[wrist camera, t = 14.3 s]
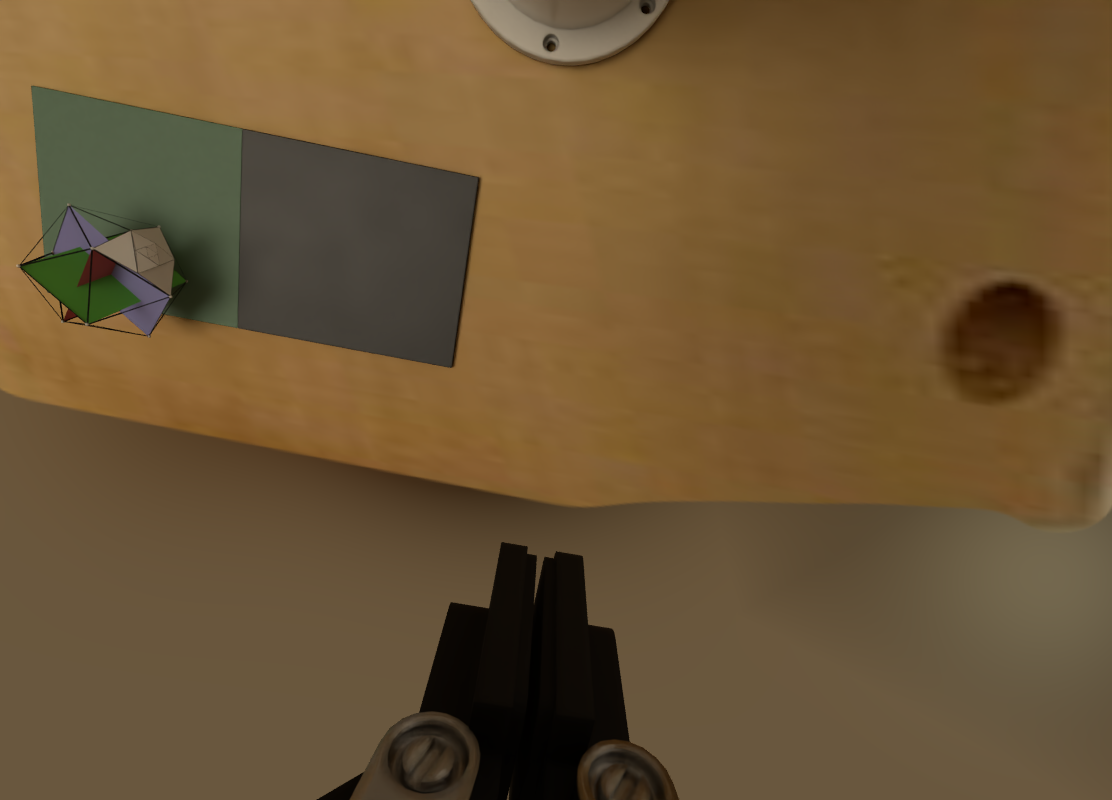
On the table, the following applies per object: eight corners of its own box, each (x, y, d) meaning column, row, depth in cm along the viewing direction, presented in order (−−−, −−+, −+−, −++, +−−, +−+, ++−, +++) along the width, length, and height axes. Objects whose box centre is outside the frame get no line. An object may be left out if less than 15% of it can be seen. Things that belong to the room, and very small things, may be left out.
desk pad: (35, 86, 33) (30, 85, 33) (479, 177, 34) (478, 177, 34) (50, 291, 36) (46, 292, 36) (452, 366, 38) (451, 367, 38)
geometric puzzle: (121, 372, 35) (83, 342, 28) (24, 290, 34) (-41, 237, 27) (217, 300, 38) (205, 257, 31) (131, 222, 37) (98, 158, 30)
